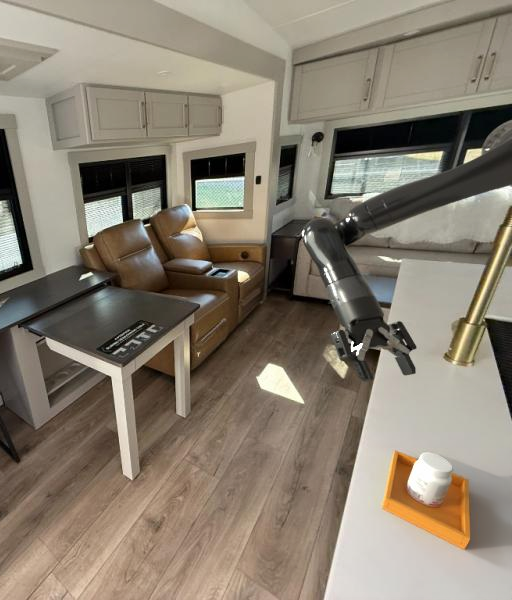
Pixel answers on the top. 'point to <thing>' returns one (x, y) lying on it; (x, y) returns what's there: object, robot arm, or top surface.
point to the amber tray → (437, 520)
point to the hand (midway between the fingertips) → (389, 377)
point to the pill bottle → (430, 479)
